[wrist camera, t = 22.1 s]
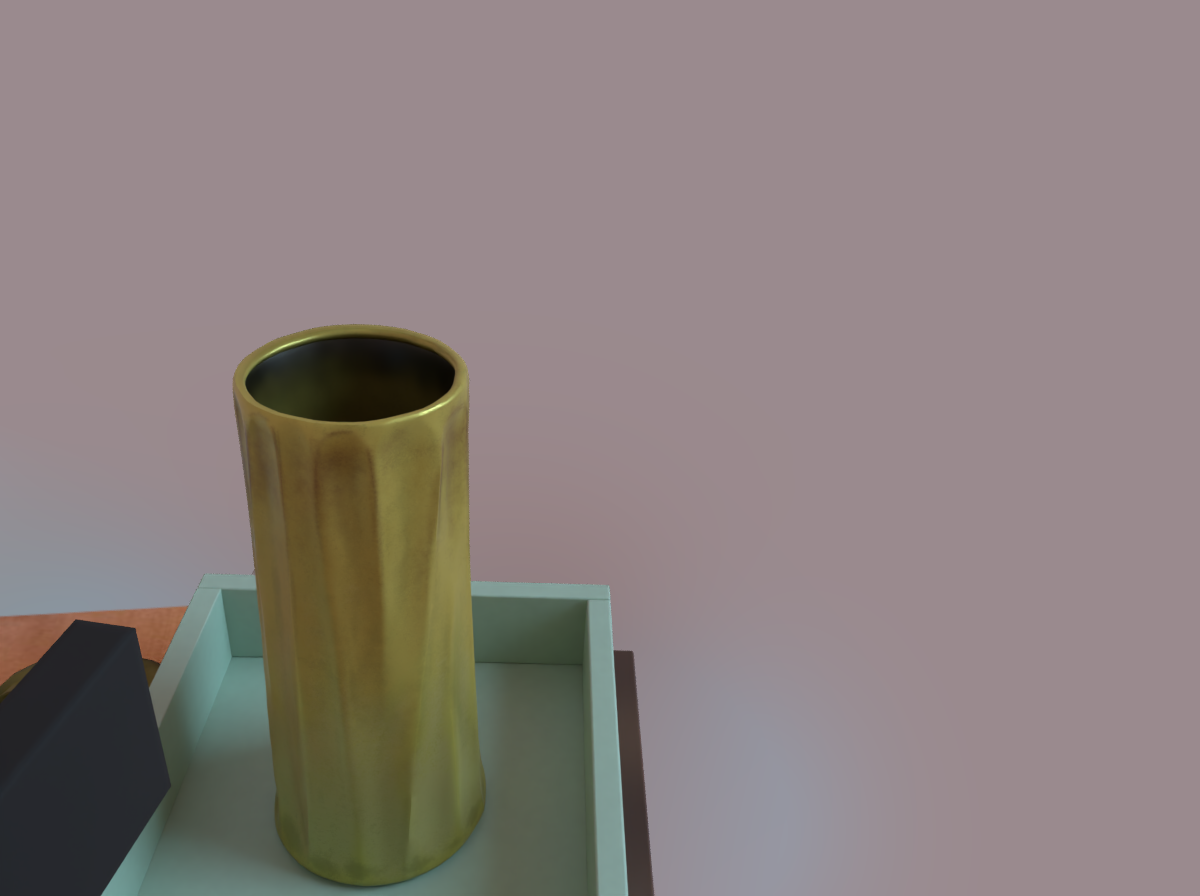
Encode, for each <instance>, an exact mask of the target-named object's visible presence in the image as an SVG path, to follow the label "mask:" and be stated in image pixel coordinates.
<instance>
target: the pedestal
mask: <svg viewBox="0 0 1200 896" xmlns="http://www.w3.org/2000/svg"><path fill="white" fill-rule="evenodd" d="M613 653H614V669H615V685H616V702H617V718H618V735H619V751H620V768H621V784H622V800H623V817H624V833H625V850H626V866H627V883H628V896H654V888H653V876H652V865H651V853H650V841H649V829H648V817H647V805H646V794H645V782H644V770H643V759H642V747H641V735H640V723H639V712H638V700H637V688H636V676H635V666H634V654H633V652H632V651H616V650H613Z"/></svg>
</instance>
